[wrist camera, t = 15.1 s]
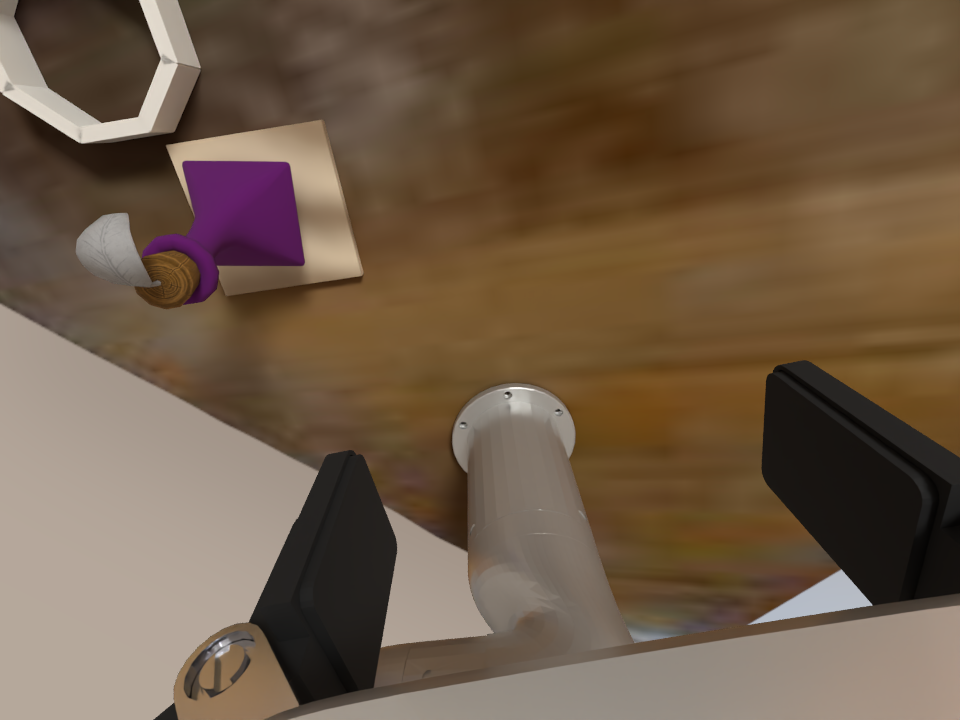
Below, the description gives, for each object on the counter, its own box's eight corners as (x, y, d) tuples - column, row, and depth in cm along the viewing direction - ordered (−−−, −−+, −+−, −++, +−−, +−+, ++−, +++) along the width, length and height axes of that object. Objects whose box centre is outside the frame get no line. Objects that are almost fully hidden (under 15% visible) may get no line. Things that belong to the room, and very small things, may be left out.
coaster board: (363, 273, 41) (361, 275, 40) (230, 293, 41) (226, 296, 40) (324, 120, 35) (321, 119, 35) (171, 144, 36) (165, 145, 35)
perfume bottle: (317, 256, 39) (212, 343, 23) (226, 255, 39) (56, 343, 23) (303, 159, 36) (169, 180, 20) (204, 158, 36) (-14, 178, 19)
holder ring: (220, 124, 35) (200, 124, 33) (64, 150, 36) (31, 151, 33) (146, -90, 30) (114, -112, 27) (-37, -56, 30) (-86, -75, 28)
